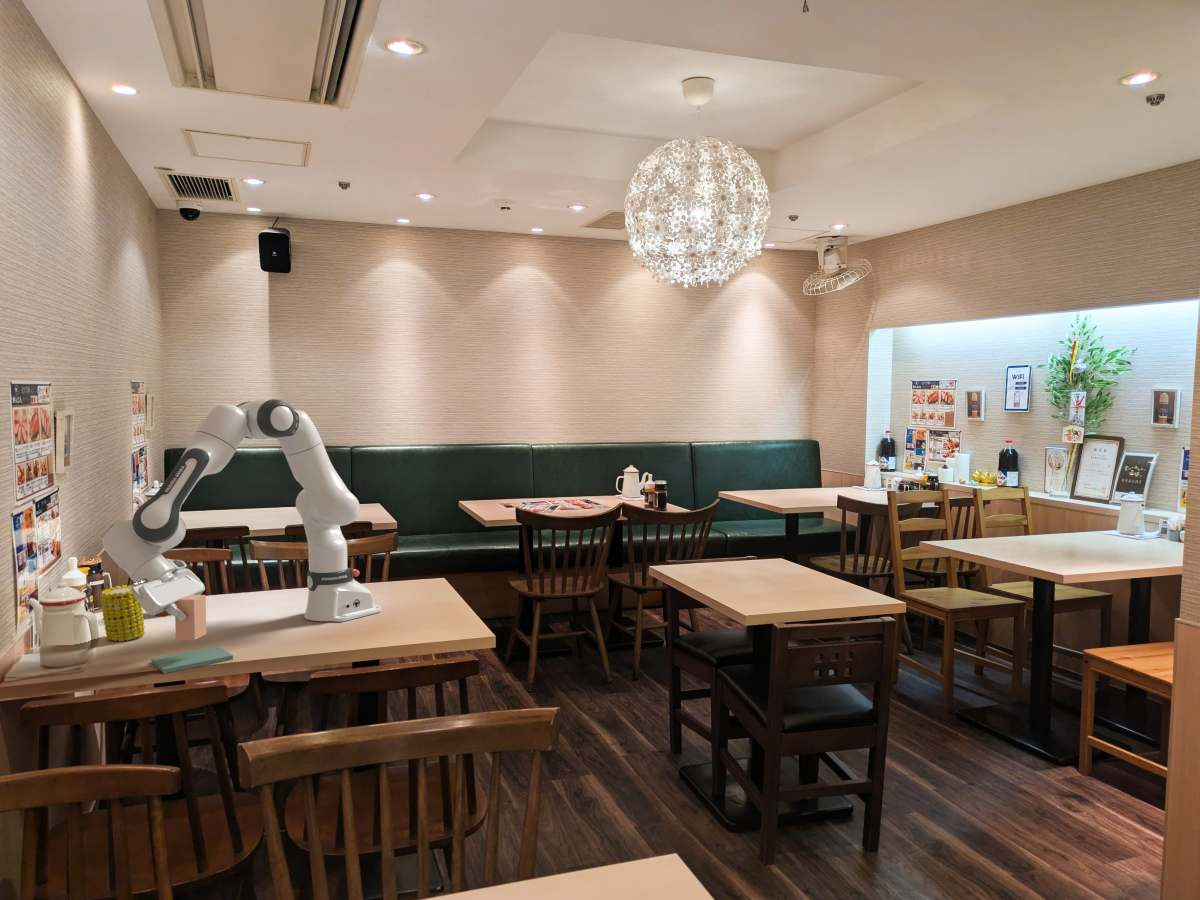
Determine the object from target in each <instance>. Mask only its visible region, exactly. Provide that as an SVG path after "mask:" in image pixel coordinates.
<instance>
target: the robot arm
mask: <svg viewBox="0 0 1200 900" xmlns="http://www.w3.org/2000/svg"><path fill="white" fill-rule="evenodd" d="M272 438H273V439H277V441H278V442H279V444H280V447H281V449H282V451H283V454H284V456H285V459H286V461H287V463H288V466H289V468H290V470H291V473H292V475H293V477H294V479H295V480H296V481H297V482H298V483H299V484H300V486H301V487H302V488H303V489H302V490H301V491H300V492H299V493H298V495H297V497H296V499H295V507H296V511H297V512H298V514H299V516H300V517H301V520H302V525H303V527H304V532H305V536H306V540H307V541H306V542H307V547H308V570H307V577H306V579H307V589H308V595H307V603H306V608H305V609H306V610H305V612H304V616H303V617H304V619H305V620H307V621H308V620H309V621H312V622H338V623H339V622H341V623H342V622H347V621H351V620H354V619H358V618H362V617H365V616H370V615H375V614H377V613H378V614H379V613H381V612H382V607H381V606H380V605H379V604H377V603H375V602H374V597H373V593H372V591H371V590H370V589H368V588H367V587H366V586H364V585H363V584H362V583H360V582H359V581H357V580H356V579H355V578H354V577H359V575H360V572H361V571H359V569H356V568H350V567H348V544H347V543H348V542H347V540H346V538H345V537H344V535H343V532H342V530H341V526H347V525H349V524H352V523H353V522H354V521H356V519H357V518H358V516H359V513H360V510H361V509H360V507H361V506H360V502H359V499H358V498H357V497H356V496H355V495H354V494H353V493H352V492H351V490H349V489H348V487H347V485H346V484H345V483H344V481H343V479H342V478H341V477H340V475H339V474H338V472H337V471H336V469H335V468H334V465H333V464H332V461H331V459H330V456H329V455H328V453H327V449H326V447H325V444H324V442H323V440H322V438H321V436H320V434H319V431H318V429H317V427H316V425H315V423H314V422H313V421H312V419H311V418H310V416H309V415H308V413H306V412H305V411H303V410H299V409H294V408H293V407H292V406H291V405H290V404H288V403H287V402H285V401H284V400H280V399H274V398H273V399H269V398H268V399H266V398H263V399H262V398H261V399H256V400H252V401H244V402H241V403H239V404H238V405H233V404H230V403H221V404H218V405H216V406H215V407H214V408H213V409H212V410H211V411H210V412H209V413H208V414H207V415H206V416H205V418H204V419H203V420H202V422H201V423H200V425H199V426H198V427H197V429H196V431H195V432H194V433H193V436H192V437H191V439H190V441H189V442H188V444H187V447H186V449H185V451H184V452H183V454H182V455H181V457H180V459H179V460H178V462H177V463H176V465H174V467H173V469H172V470H171V472H170V473H169V475H168V476H167V477H166V479H165V480H164V481H163V484H161V486H160V487H159V489H158V491H157V492H156V493H155V494H154V495H153V496H152V497H150V498H149V499H148V500H147V501H145V502H144V503H142V504H141V505H140V506H138V508H137V509H136V511H135V512H134V514H133V517H132V519H120V520H119V521H116V522H115V523H114V524H111V526H110V527H109V528H108V529H107V530H106V531H105V533H104V535H103V537H102V542H101V544H102V546H103V548H104V550H105V552H106V553H107V555H108V556H109V557H110V558H111V559H112V561H113V562H114V563H115V564H116V565H117V566H118V567H119V568H120V569H122V570H123V571H125V572H126V574H127V575H128V576H129V578H130V580H131V581H132V582H133V583H132V584H131V586H132V587H131V588H132V589H131V590H132V592H133V593H134V594H135V598H136V600H137V601H138V602H139V604H140V605H141V606H142V610H143V611H145V612H146V613H147V614H148V615H149V616H156V614H158V613H161V612H163V611H167V612H168V614H171V615H170V616H173V617H174V618H175V617H177V618H178V619H179V620H180V621H184V620H186V619H187V618H188V616H189V615H188V614H187V613H186V612H185V611H181V610H180V609H178V608H177V605H176V604H175V602H177V601H178V599H180V598H183V597H185V596H188V595H203V592H205V590H206V586H205V583H203V581H201V579H200V578H199V577H198V576H197V575H196V574H195V573H194V571H192V570H191V569H188V568H186V567H187V566H188V565H187V564H186V562H185V561H184V560H180V559H170V558H165V556H163V554H164V553H166V552H167V551H170V550H171V549H174V548H175V547H177V546H178V545H179V544H181V543H182V541H184V538H186V533H187V526H186V524H185V522H184V520H183V519H182V517H181V515H180V512H181V509H182V505H183V504H184V503H185V501H186V500H187V498H188V496H189V495H190V494H191V492H192V491H193V489H194V488H195V486H196V484H197V483H198V482H199V481H200V480H201V479H202V478H203V477H205V476H208V475H215V474H218V473H220V472H221V471H222V470H223V469H224V468H225V467H226V466H227V465H228V464H229V462H230V461H231V459H232V458H233V456H234V454H235V453H236V451H237V449H238V448H239V446H240V443H241V442H242V441H243V440H244V439H248V440H249V439H251V440H252V439H254V440H255V439H256V440H267V439H272Z"/></svg>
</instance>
